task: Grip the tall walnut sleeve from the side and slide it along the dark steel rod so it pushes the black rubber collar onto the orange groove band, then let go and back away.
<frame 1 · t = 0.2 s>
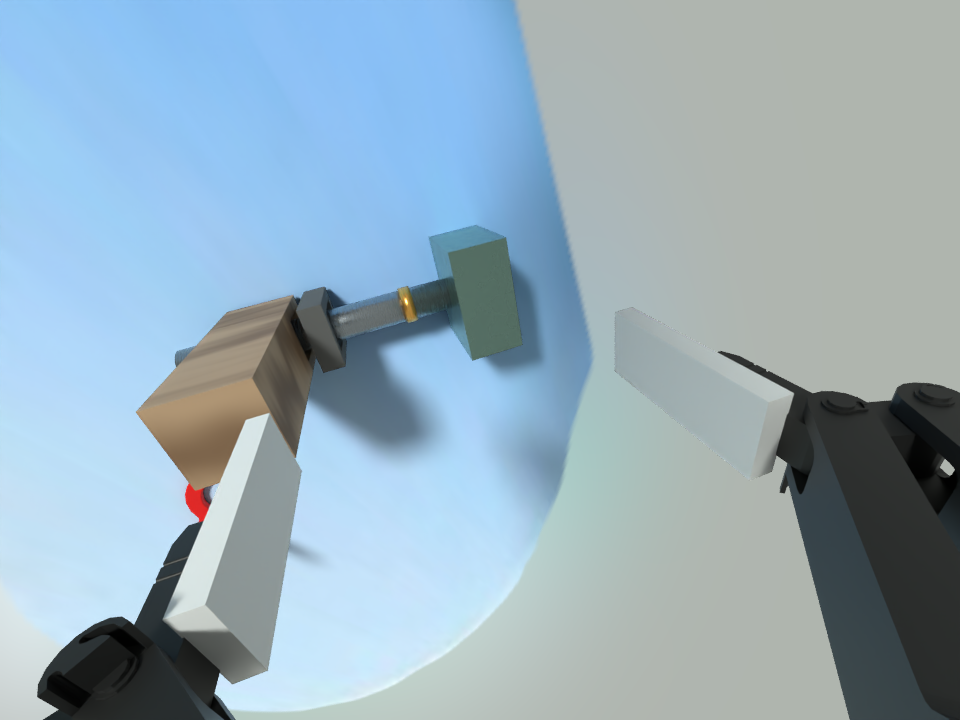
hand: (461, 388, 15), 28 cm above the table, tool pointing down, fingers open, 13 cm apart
rod stand: (355, 308, 40), on the table
tow hook: (232, 491, 45), on the table
sleeve: (254, 371, 30), point 9 cm above the table, slide at 0.0 cm
collar: (324, 328, 36), point 3 cm above the table, slide at 0.0 cm
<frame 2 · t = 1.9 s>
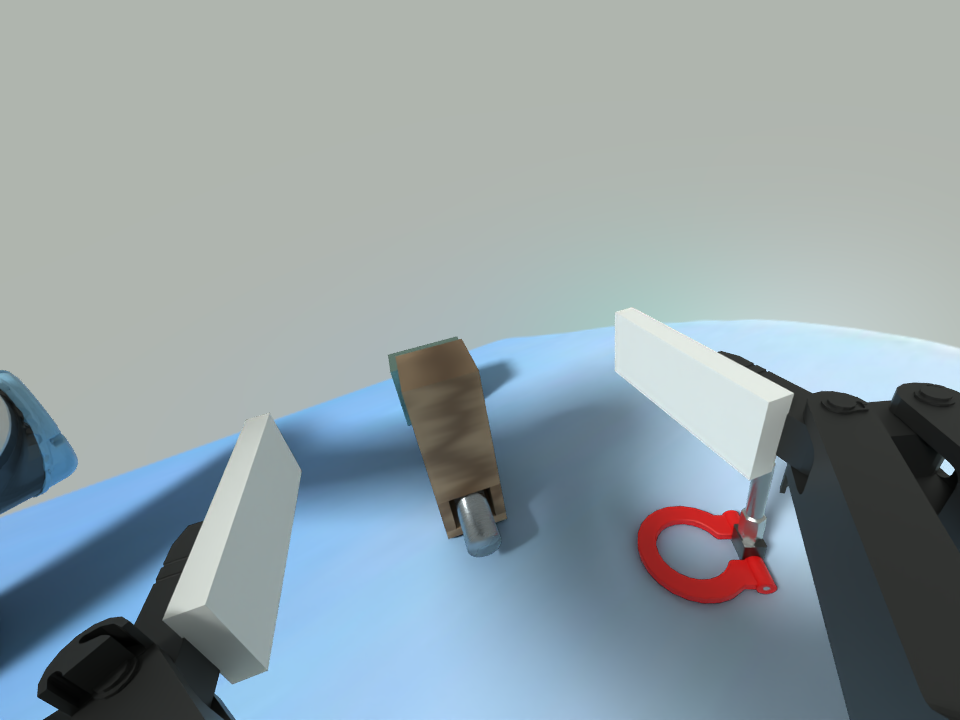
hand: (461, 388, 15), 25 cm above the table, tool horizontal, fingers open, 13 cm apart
rod stand: (455, 457, 48), on the table
tow hook: (695, 555, 33), on the table
sleeve: (454, 442, 36), point 9 cm above the table, slide at 0.0 cm
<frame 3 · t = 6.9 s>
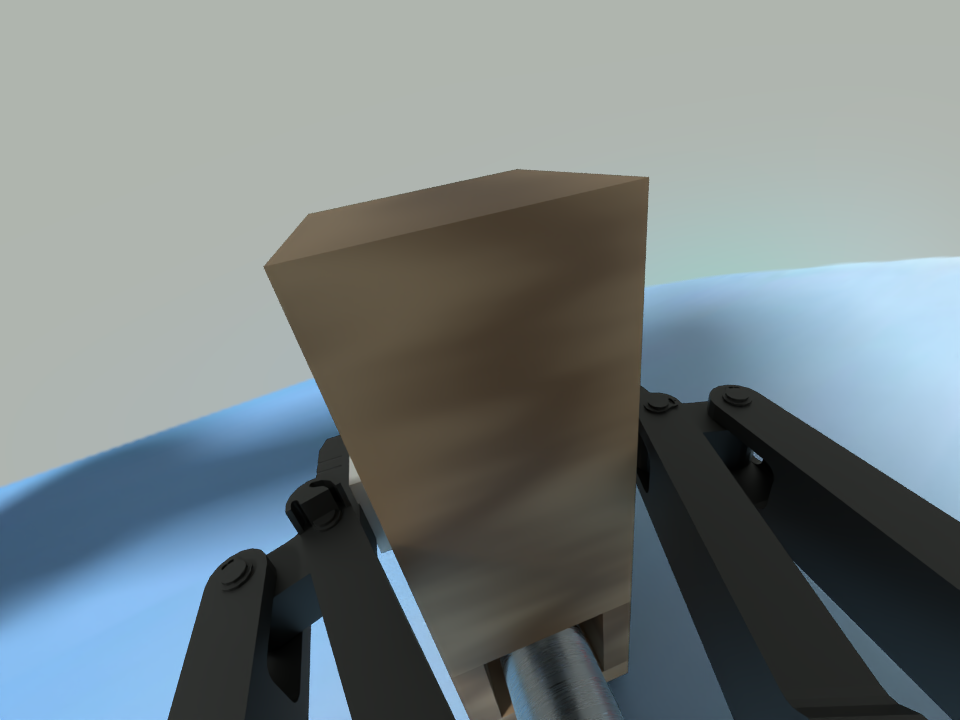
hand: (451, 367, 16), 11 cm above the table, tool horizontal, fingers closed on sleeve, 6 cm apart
rod stand: (478, 495, 24), on the table
sleeve: (496, 483, 13), point 9 cm above the table, slide at 0.0 cm, touching gripper
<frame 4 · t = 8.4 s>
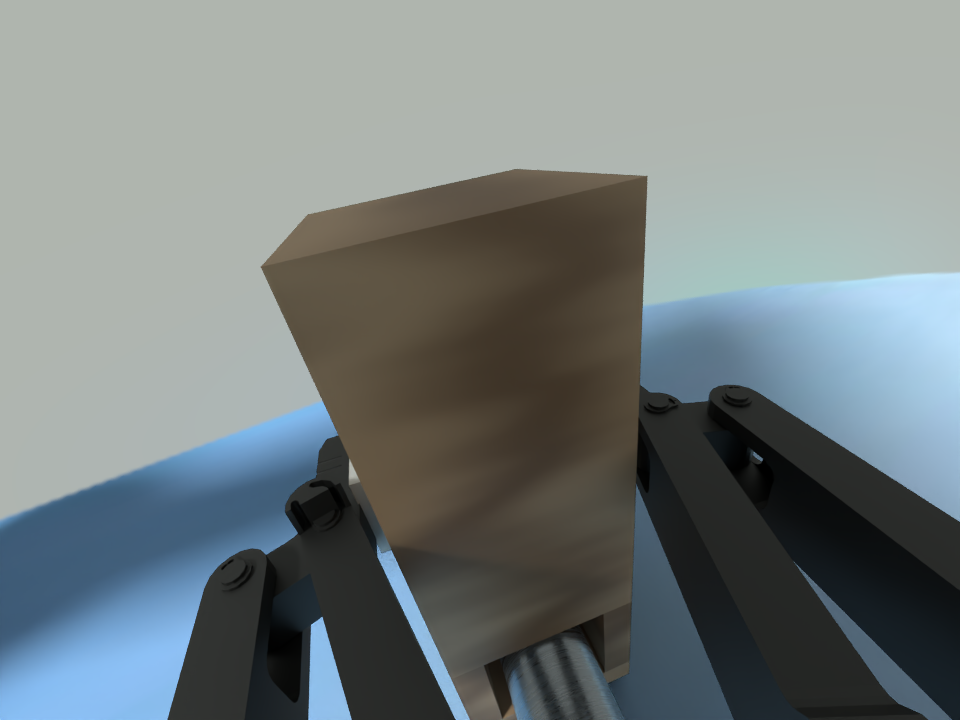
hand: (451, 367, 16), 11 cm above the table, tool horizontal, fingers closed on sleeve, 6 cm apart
rod stand: (507, 573, 20), on the table
sleeve: (496, 484, 13), point 9 cm above the table, slide at 5.3 cm, touching collar, gripper
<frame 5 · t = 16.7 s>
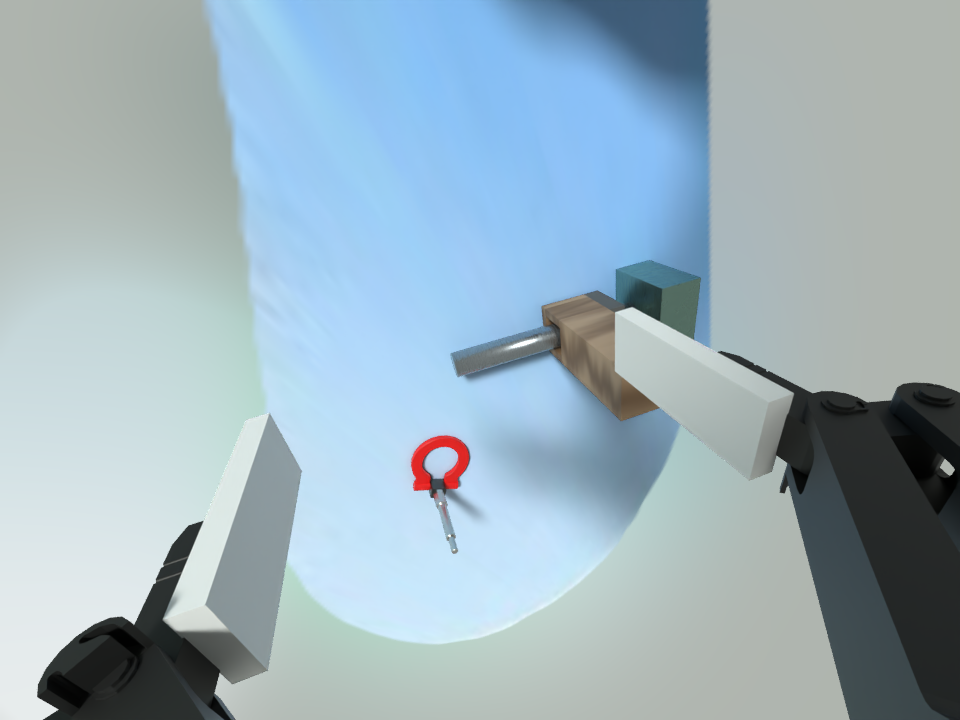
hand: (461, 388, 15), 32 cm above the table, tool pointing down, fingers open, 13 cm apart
rod stand: (555, 321, 52), on the table
tow hook: (438, 460, 57), on the table
sleeve: (599, 348, 44), point 9 cm above the table, slide at 9.0 cm
collar: (603, 321, 50), point 3 cm above the table, slide at 8.0 cm
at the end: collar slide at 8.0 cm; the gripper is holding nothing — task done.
